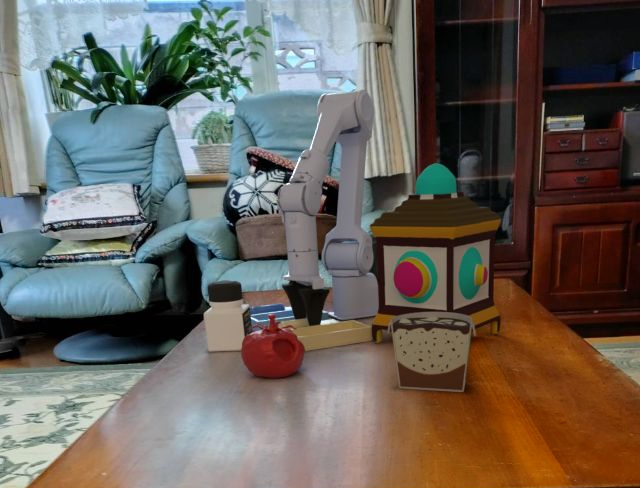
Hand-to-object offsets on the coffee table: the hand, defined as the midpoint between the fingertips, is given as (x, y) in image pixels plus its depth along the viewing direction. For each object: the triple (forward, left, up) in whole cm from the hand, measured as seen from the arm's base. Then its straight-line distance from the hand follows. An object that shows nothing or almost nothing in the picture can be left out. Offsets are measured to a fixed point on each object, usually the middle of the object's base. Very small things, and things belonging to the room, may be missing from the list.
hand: (307, 322), depth 133 cm
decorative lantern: (-18, +18, -3) cm, 26 cm away
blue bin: (+1, -9, -2) cm, 9 cm away
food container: (-3, +42, -3) cm, 43 cm away
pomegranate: (+15, +23, -3) cm, 28 cm away
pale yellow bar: (0, 0, -2) cm, 2 cm away
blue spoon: (0, -19, -2) cm, 19 cm away
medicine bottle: (+16, +1, -3) cm, 16 cm away
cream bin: (0, +9, -2) cm, 9 cm away
